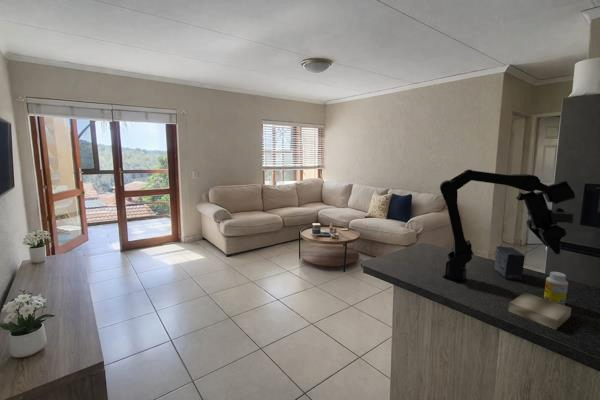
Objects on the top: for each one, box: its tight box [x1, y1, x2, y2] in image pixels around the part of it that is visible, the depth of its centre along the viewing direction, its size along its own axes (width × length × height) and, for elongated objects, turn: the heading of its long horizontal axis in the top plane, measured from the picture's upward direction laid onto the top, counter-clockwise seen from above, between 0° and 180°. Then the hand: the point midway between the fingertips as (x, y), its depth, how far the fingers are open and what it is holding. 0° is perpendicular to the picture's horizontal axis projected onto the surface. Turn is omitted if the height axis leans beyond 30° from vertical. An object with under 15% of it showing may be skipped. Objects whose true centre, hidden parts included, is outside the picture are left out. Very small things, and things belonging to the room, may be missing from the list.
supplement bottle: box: [543, 271, 569, 306], centre depth 99 cm, size 6×6×10 cm
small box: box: [493, 245, 526, 281], centre depth 122 cm, size 11×6×10 cm, turn 168°
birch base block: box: [507, 292, 572, 330], centre depth 93 cm, size 12×12×3 cm
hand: (552, 249), depth 105 cm, fingers open, 9 cm apart
